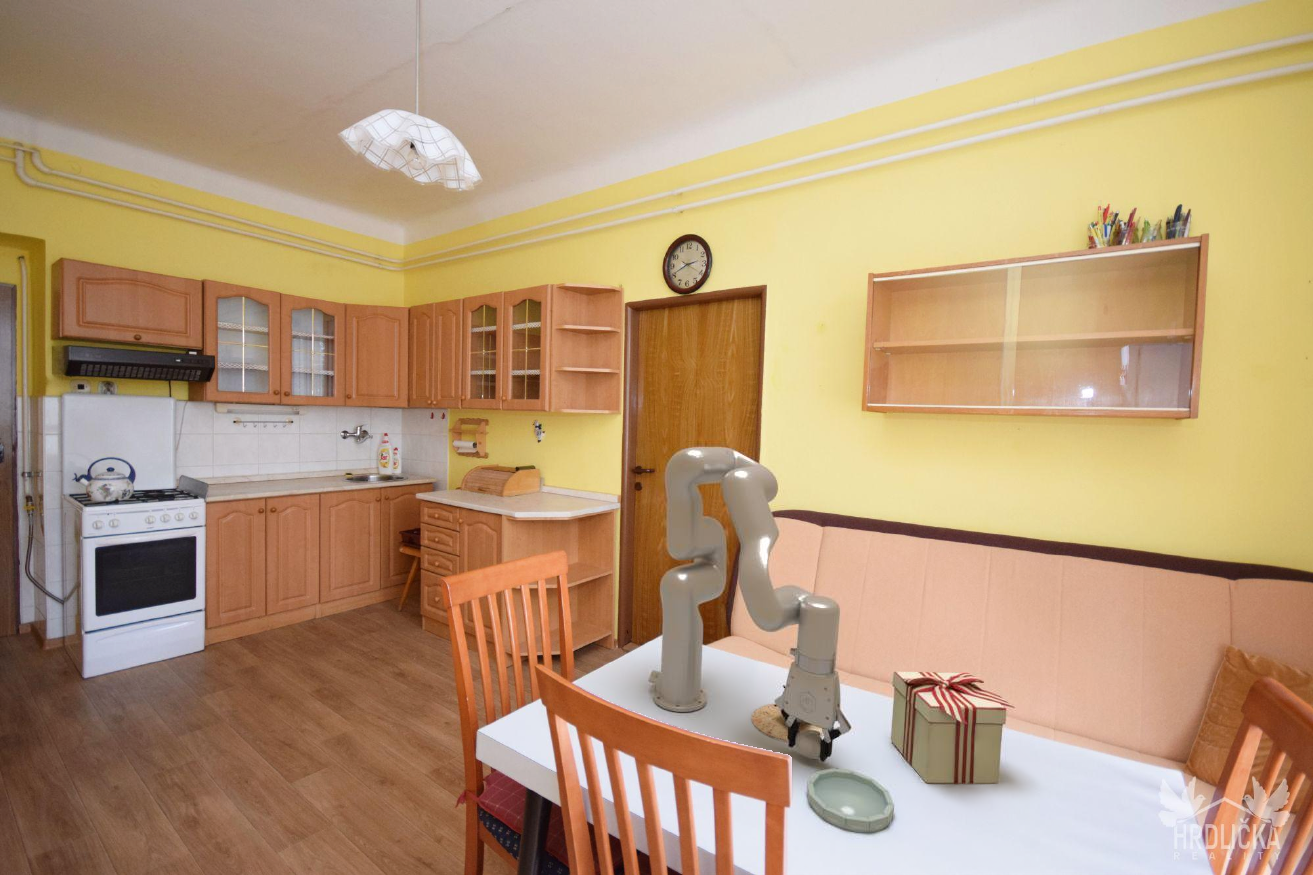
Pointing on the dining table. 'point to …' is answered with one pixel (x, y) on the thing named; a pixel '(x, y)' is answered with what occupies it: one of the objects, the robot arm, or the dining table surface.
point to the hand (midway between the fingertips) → (808, 750)
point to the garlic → (808, 743)
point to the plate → (850, 800)
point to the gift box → (948, 727)
